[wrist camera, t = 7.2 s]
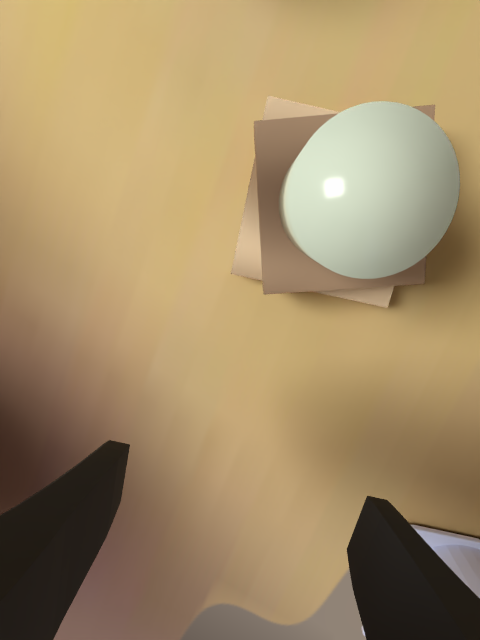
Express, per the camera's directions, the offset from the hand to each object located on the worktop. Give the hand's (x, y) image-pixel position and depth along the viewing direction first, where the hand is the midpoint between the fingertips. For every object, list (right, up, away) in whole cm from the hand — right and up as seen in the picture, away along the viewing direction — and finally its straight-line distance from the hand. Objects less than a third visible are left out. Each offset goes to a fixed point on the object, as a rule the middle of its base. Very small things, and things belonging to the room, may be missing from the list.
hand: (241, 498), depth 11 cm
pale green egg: (+4, +10, +4) cm, 12 cm away
